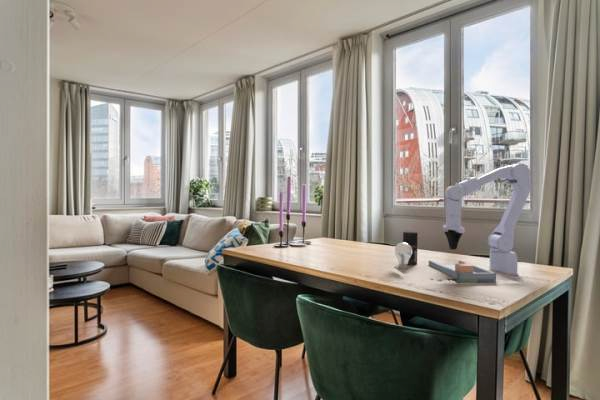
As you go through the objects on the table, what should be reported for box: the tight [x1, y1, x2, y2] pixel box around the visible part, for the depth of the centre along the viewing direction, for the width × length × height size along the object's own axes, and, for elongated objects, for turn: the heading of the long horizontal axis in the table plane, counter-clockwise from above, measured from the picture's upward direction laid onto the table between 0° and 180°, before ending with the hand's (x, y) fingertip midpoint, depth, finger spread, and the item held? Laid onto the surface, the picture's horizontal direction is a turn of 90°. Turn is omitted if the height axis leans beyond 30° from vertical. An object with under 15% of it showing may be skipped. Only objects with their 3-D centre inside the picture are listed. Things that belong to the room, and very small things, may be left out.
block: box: [454, 262, 473, 273], centre depth 137 cm, size 4×4×4 cm
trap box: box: [428, 259, 497, 284], centre depth 147 cm, size 14×26×4 cm, turn 3°
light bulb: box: [394, 241, 412, 270], centre depth 153 cm, size 7×7×12 cm
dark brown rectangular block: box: [402, 231, 419, 266], centre depth 162 cm, size 6×6×15 cm
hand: (453, 249), depth 153 cm, fingers closed
